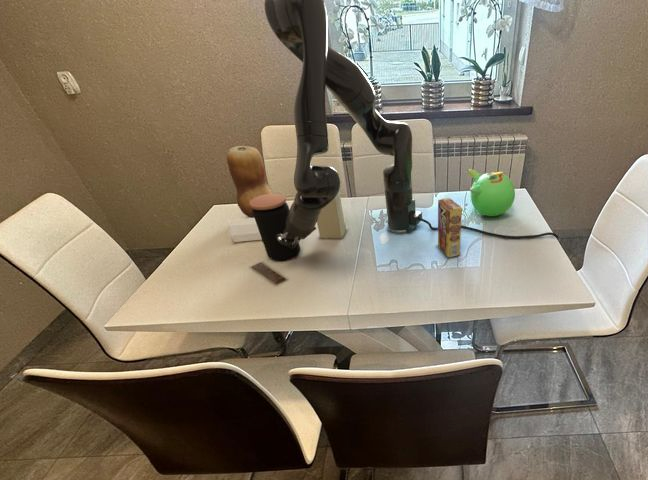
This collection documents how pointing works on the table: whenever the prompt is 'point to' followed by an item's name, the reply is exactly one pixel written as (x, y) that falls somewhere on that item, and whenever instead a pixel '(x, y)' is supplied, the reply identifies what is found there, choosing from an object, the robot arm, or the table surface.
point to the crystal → (243, 230)
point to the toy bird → (491, 193)
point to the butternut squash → (247, 176)
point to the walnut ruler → (268, 273)
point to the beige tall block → (332, 220)
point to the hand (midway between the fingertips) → (290, 245)
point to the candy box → (449, 227)
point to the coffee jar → (273, 225)
